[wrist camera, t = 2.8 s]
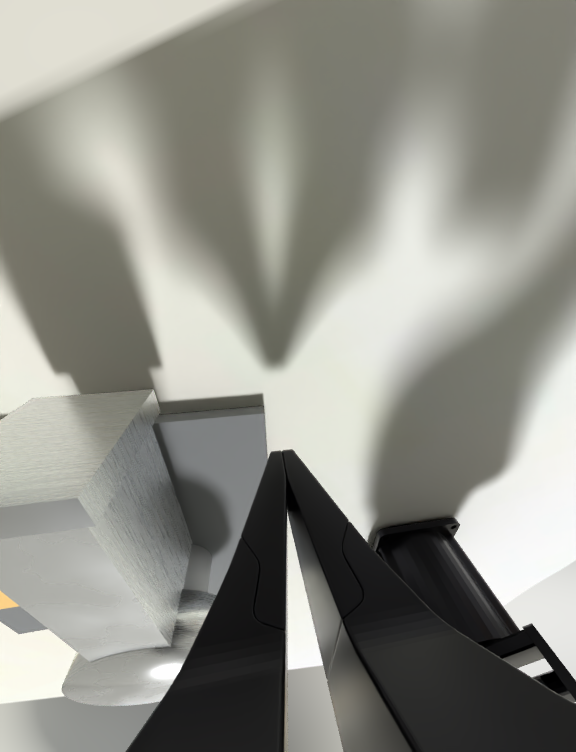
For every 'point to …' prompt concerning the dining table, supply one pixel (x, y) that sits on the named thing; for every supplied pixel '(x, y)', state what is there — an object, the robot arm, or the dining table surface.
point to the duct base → (200, 491)
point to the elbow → (98, 542)
